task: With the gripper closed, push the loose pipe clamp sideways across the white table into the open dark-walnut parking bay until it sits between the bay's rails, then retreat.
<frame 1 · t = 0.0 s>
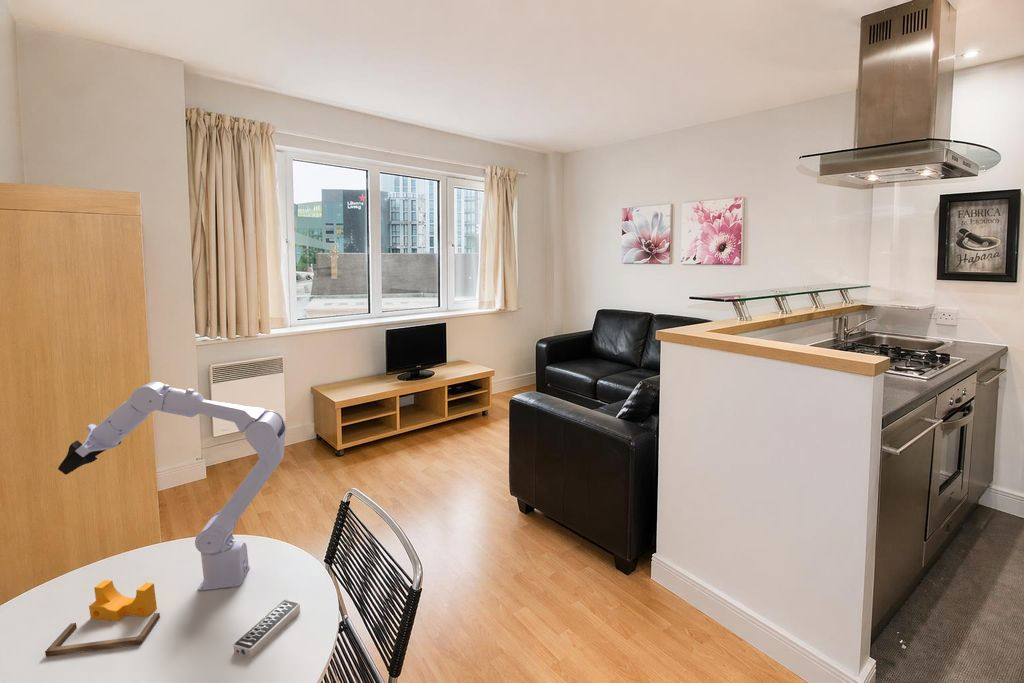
hand: (73, 464, 115), 32 cm above the table, tool tilted 50°, fingers open, 7 cm apart
multiport hub: (269, 633, 109), on the table
bay: (105, 636, 107), on the table
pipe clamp: (124, 614, 114), on the table
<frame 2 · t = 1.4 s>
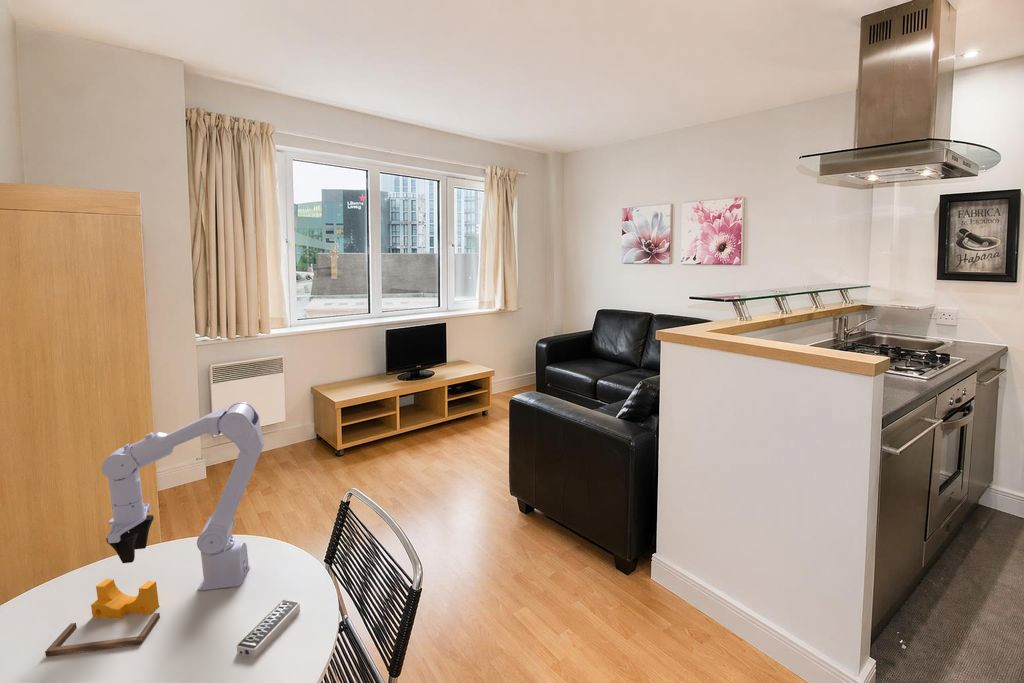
hand: (134, 555, 119), 10 cm above the table, tool pointing down, fingers open, 5 cm apart
nothing on the table moved.
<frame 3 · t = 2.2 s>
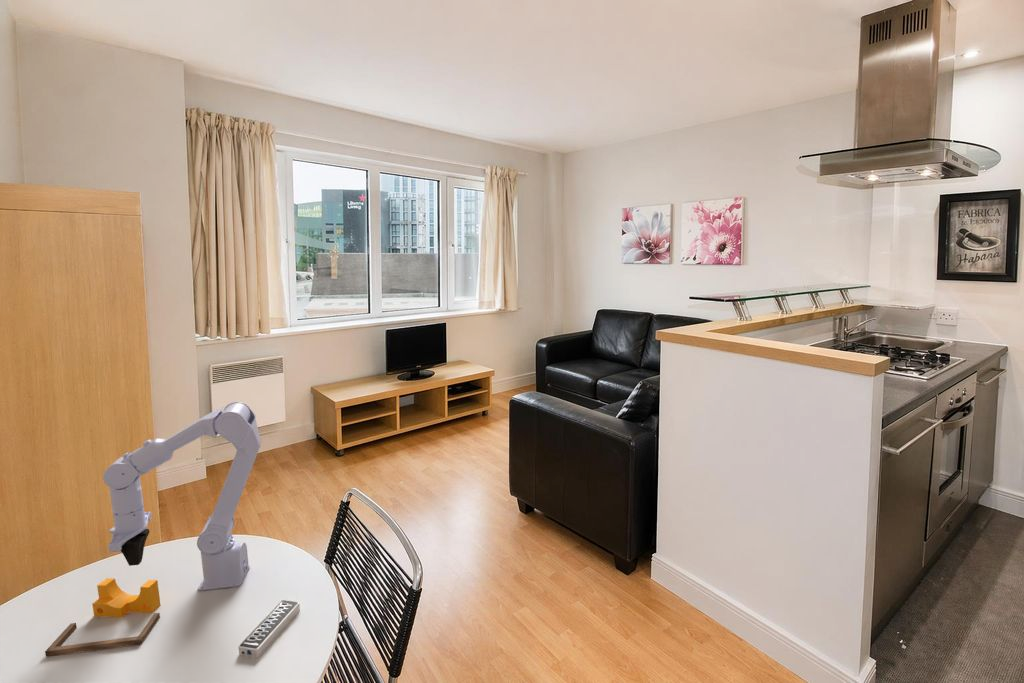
hand: (135, 563, 119), 8 cm above the table, tool pointing down, fingers closed
nothing on the table moved.
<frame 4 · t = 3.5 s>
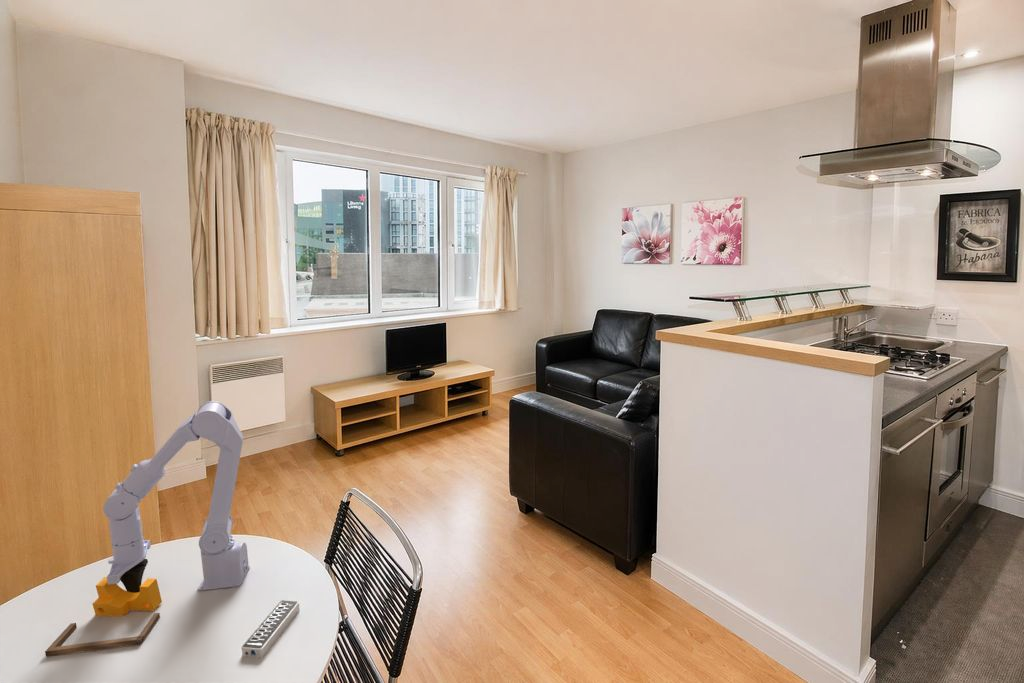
hand: (134, 593, 119), 1 cm above the table, tool pointing down, fingers closed
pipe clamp: (129, 609, 115), on the table, touching gripper
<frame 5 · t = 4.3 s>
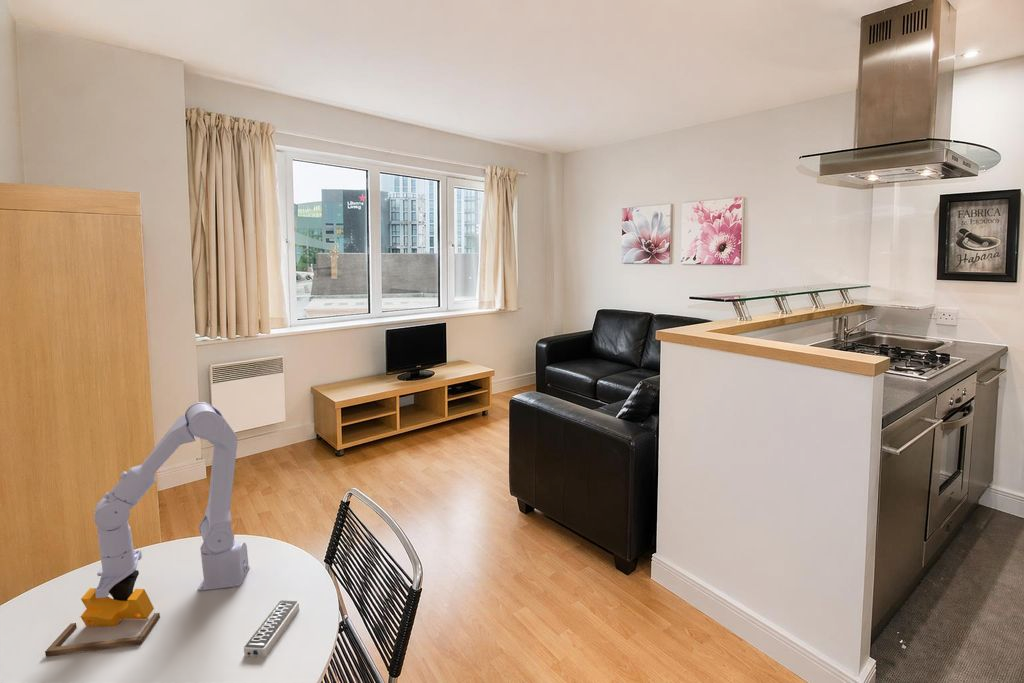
hand: (124, 606, 115), 1 cm above the table, tool pointing down, fingers closed
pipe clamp: (121, 617, 112), on the table, touching gripper
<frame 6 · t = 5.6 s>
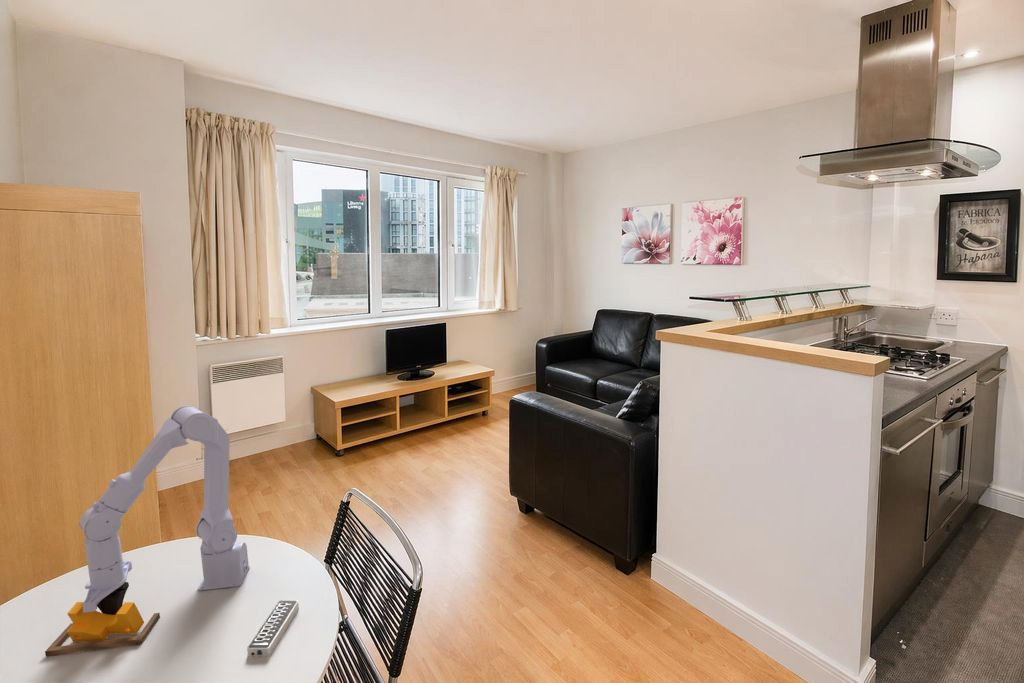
hand: (113, 620, 110), 1 cm above the table, tool pointing down, fingers closed
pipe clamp: (109, 632, 108), on the table, touching gripper
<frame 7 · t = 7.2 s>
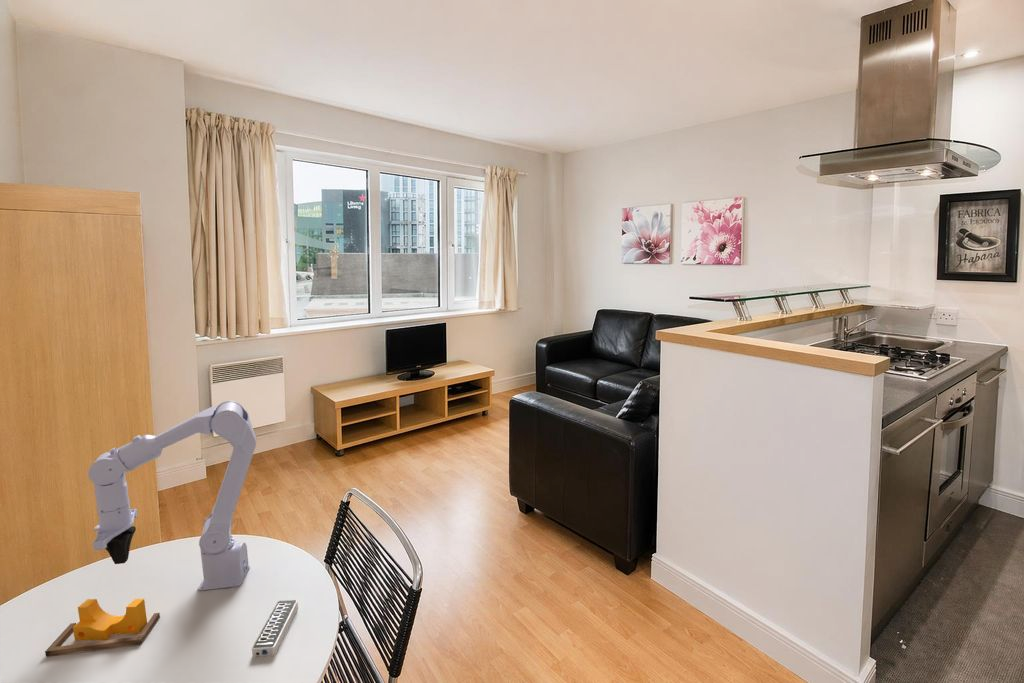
hand: (121, 562, 116), 10 cm above the table, tool pointing down, fingers closed
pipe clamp: (112, 634, 108), on the table
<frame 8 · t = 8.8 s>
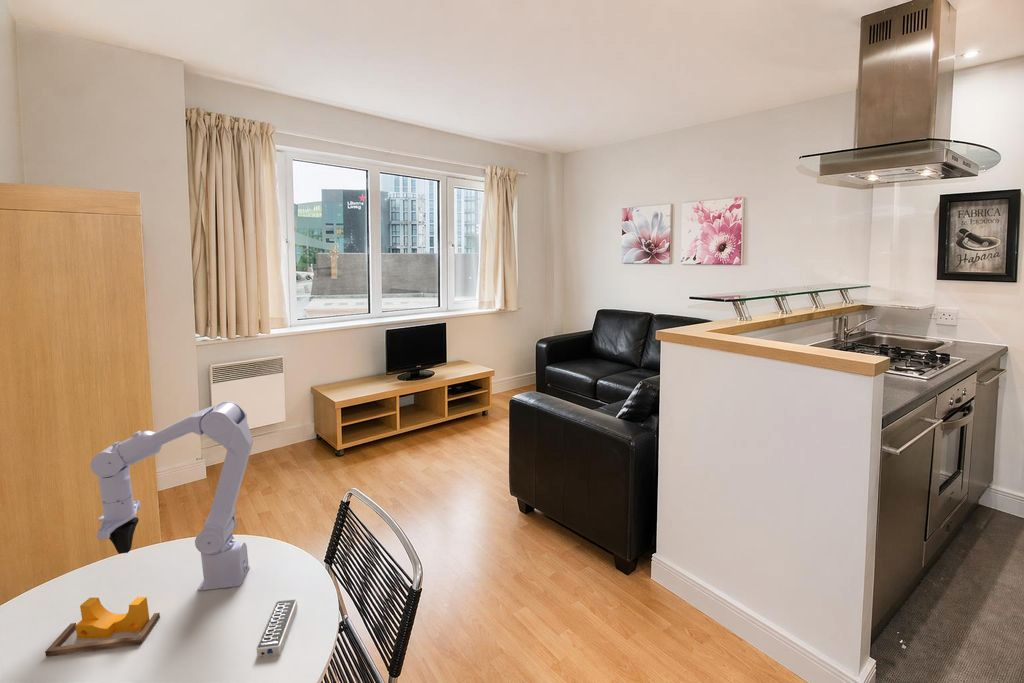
hand: (124, 551, 121), 10 cm above the table, tool pointing down, fingers closed
at the end: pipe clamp inside the target area on the bay (1.4 cm from its centre), point 0.0 cm above the bay's base; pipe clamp moved 5.5 cm from its start; the gripper is holding nothing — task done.
